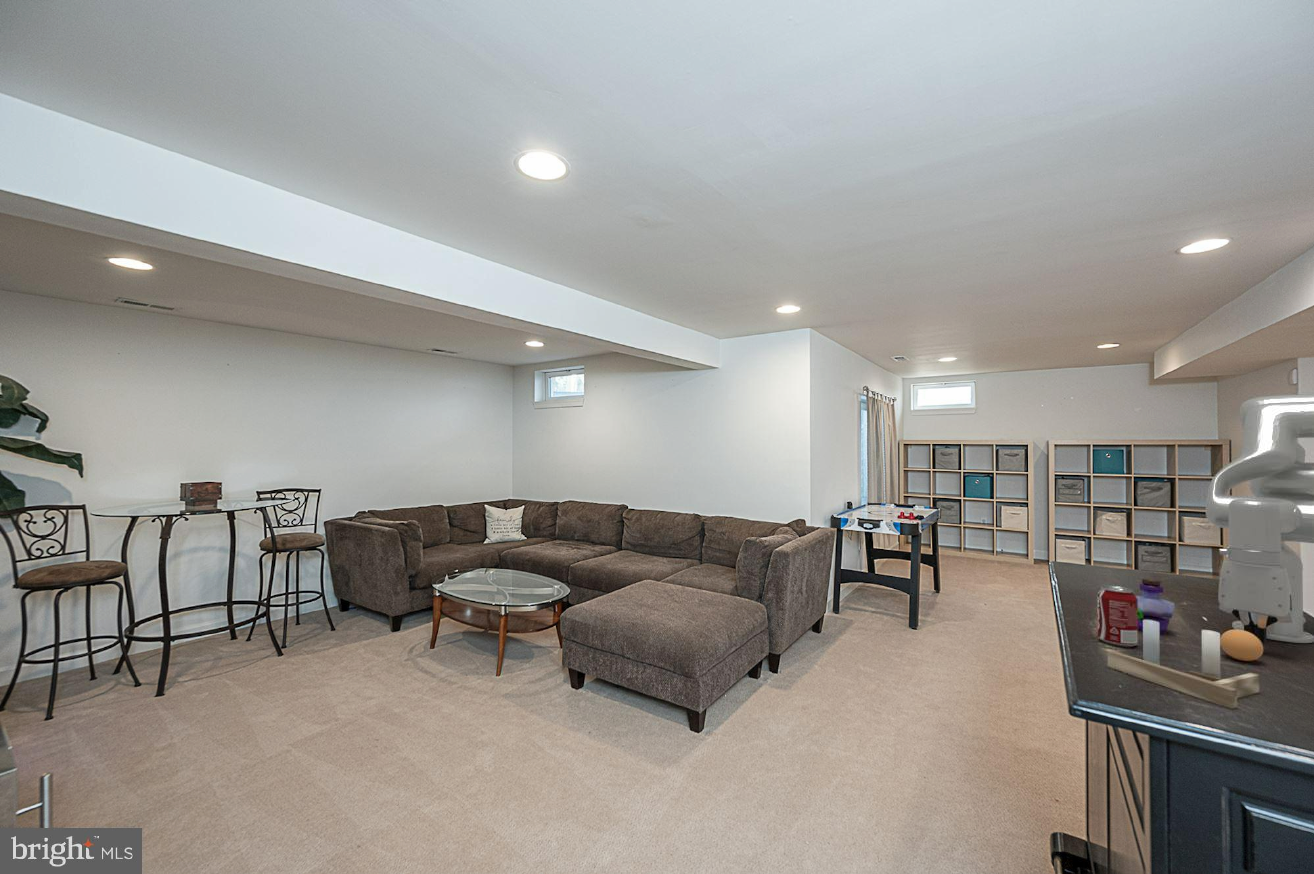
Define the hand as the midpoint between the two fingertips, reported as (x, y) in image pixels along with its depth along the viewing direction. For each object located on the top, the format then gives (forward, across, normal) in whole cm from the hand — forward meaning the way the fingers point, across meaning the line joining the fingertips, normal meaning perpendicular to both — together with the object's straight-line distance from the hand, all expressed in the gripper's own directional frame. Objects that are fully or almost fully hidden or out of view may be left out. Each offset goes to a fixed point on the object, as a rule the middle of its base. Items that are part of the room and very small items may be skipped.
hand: (1255, 644), depth 115 cm
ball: (-1, 0, -9) cm, 10 cm away
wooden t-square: (+2, -2, -34) cm, 34 cm away
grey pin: (+2, -8, -29) cm, 31 cm away
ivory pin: (+2, 0, -27) cm, 27 cm away
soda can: (+2, -17, -20) cm, 26 cm away
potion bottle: (+2, -16, -2) cm, 17 cm away
